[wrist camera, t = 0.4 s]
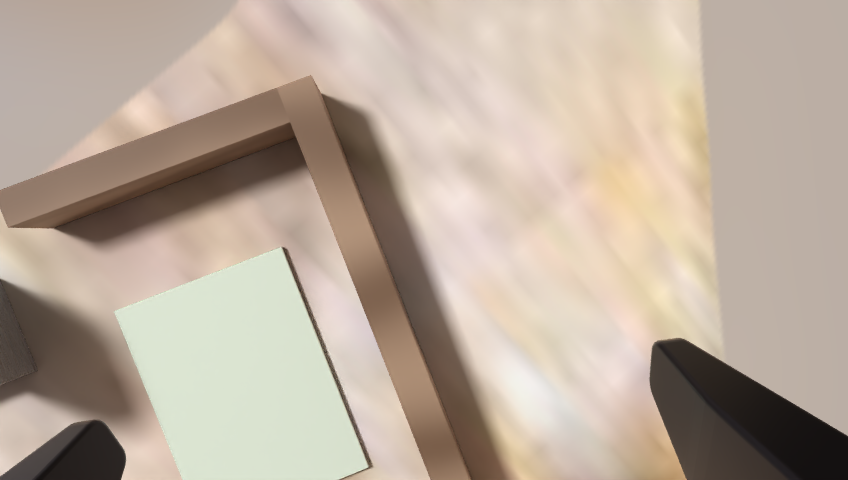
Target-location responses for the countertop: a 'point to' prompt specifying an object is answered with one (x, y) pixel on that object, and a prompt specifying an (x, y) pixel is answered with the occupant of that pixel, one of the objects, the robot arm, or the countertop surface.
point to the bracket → (12, 345)
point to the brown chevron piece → (312, 126)
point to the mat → (242, 377)
